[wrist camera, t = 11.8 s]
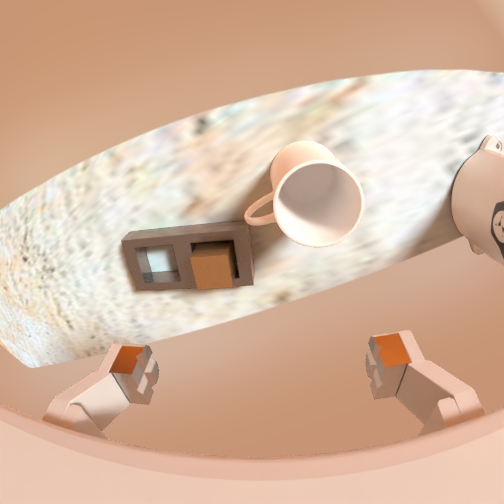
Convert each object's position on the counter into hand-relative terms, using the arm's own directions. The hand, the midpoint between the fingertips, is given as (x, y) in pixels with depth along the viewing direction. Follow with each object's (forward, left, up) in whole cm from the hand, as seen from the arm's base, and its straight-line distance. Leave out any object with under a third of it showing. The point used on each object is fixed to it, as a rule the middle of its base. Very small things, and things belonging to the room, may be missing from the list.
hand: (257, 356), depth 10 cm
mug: (-3, +1, -29) cm, 29 cm away
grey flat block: (+11, +10, -29) cm, 33 cm away
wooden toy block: (+7, +10, -29) cm, 32 cm away
